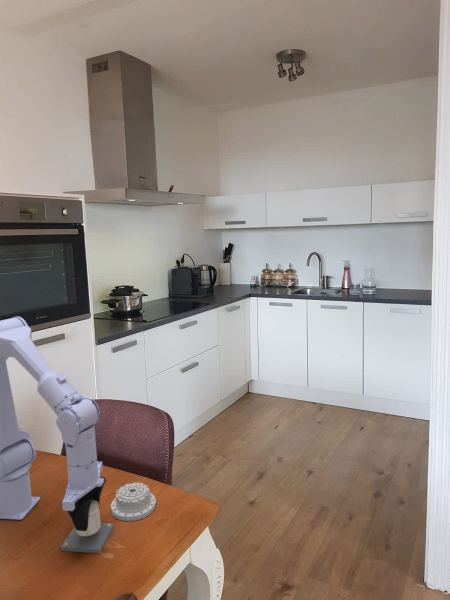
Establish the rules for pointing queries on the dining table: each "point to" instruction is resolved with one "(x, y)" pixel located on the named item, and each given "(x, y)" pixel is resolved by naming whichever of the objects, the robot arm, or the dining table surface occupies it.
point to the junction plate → (88, 540)
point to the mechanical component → (133, 502)
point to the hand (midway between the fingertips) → (87, 521)
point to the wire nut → (92, 520)
